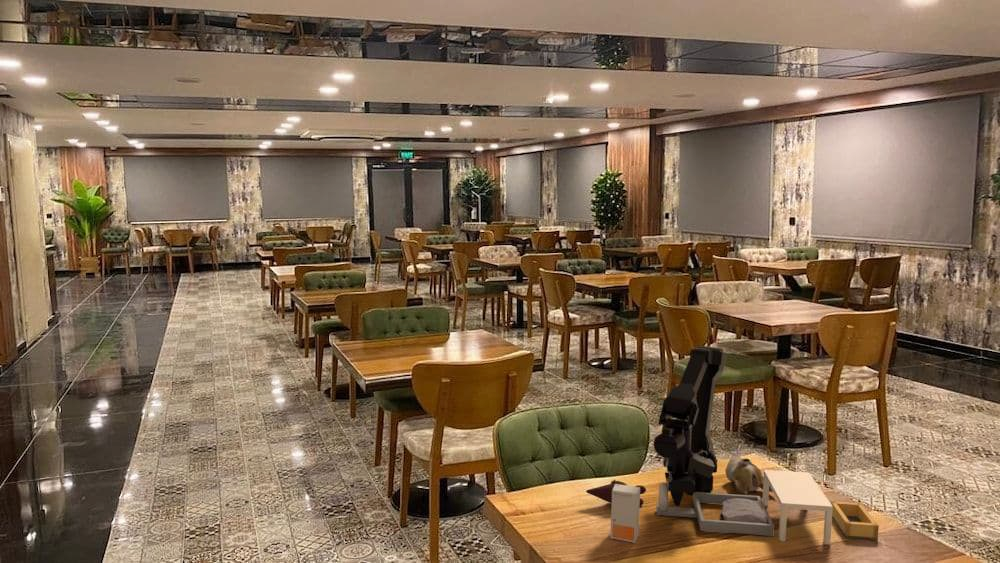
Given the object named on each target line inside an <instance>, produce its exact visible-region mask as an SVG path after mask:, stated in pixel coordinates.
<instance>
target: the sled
mask: <svg viewBox="0 0 1000 563" xmlns="http://www.w3.org/2000/svg"><path fill="white" fill-rule="evenodd" d="M735 498H737V499H739V498H740V499H747V500H752V501H760V504H761V507H762V509H764V511H765V512H766V515H767V524H763V523H749V522H735V521H725V520H718V519H708V518H707V519H706V518H704V516H703V515H704V514H703V511H702V508H701V504H715V505H723V502H724V501H727V500H730V499H735ZM657 500H658V501H657V505H656V506H655V507H656V509H655V511H656V515H657V516H666V517H667V516H668V517H682V518H695V519H696V518H697V519H696V520H697V523H698V526H699V530H700V531H701V532H715V533H727V534H729V533H730V534H741V535H742V534H744V535H756V536H757V535H758V536H767V537H769V536H771V537H774V536H775V534H774V533H775V525H774V523H773V521H772V519H771V516H770V514H769V513H768V511H767V510H768V509H766V506H764V504H763V502H762V498H761V496H760V495H749V494H747V495H743V494H734V493H733V494H731V493H716V492H711V493H705V492H695V493H693V494H692V503H693V506H694V508H692V507H680V506H669V491H668V487H667V482H659V483H658V498H657ZM700 503H701V504H700Z"/></svg>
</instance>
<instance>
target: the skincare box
mask: <svg viewBox="0 0 1000 563" xmlns="http://www.w3.org/2000/svg"><path fill="white" fill-rule="evenodd" d="M640 498H641V494H640V487H635V486H633V485H628V484H627V485H619V484H615V485H614V488H613V490H612V505H610V506H611V511H610V540H611V539H612V540H619V541H623V542H624V541H625V542H629V543H633V544H636V542H637V539H638V536H639V528H640V527H639V526H640V506H641V505H640Z"/></svg>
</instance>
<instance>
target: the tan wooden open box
mask: <svg viewBox="0 0 1000 563" xmlns="http://www.w3.org/2000/svg"><path fill="white" fill-rule="evenodd" d="M830 503H831V505H832V506H833V510H832V521H834V523H835V525H836V526H837V528H838V529H839V531H840V532H841V534H842V535H843V536H844V538H845V539H853V540H854V539H856V540H868V541H879V539H878V538H879V528H880V527H879V524H878V523H877V521H876V520H875V518H873V517H872V515H871V514H870V513H869V512H868V510H867V509H866V508H865V506H864V505H863V504H862V503H861V502H860V503H859V502H845V501H844V502H843V501H830Z"/></svg>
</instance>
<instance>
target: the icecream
mask: <svg viewBox="0 0 1000 563" xmlns="http://www.w3.org/2000/svg"><path fill="white" fill-rule="evenodd" d="M615 484H619V485H628V484H627V483H625V482H623V481H619V480H616V479H614V480H612V481H610V483H609V484H604V485H601V486H597V487H594V488H589V489H586V490H585V493H587V494H588V495H591V496H593V497H596V498H598V499H601V500H602V501H604V502H607V503H609V504H610V506H612V490H613V488H614V485H615ZM634 487H640V495H643V494H645V493H646V491H647V489H646V487H645V486H643V485H638V484H637V485H635V486H634ZM643 504H644V500H643V499H642V498H641V497H640V505H639V506H642V505H643Z"/></svg>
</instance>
